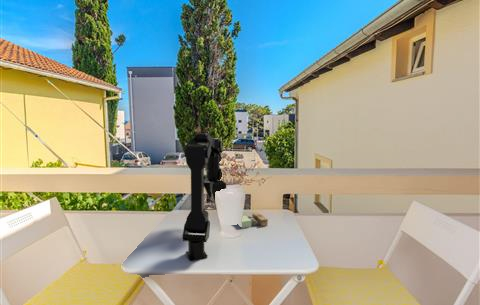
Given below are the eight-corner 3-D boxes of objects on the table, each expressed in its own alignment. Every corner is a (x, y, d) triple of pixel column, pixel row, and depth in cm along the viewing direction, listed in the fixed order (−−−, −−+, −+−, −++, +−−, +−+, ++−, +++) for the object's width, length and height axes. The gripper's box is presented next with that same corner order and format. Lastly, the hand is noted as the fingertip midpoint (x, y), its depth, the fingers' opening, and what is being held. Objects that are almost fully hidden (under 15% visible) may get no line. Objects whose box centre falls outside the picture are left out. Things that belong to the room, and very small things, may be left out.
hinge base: (267, 225, 131) (267, 219, 130) (254, 227, 128) (255, 221, 128) (257, 218, 140) (257, 212, 139) (245, 220, 137) (245, 214, 137)
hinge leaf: (258, 225, 130) (258, 219, 130) (241, 228, 127) (241, 222, 127) (251, 220, 137) (251, 214, 136) (235, 223, 133) (235, 217, 133)
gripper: (237, 168, 121) (237, 204, 123) (222, 162, 138) (222, 193, 140) (212, 170, 116) (212, 207, 118) (200, 163, 133) (200, 195, 135)
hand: (213, 200), depth 128 cm, fingers open, 9 cm apart
